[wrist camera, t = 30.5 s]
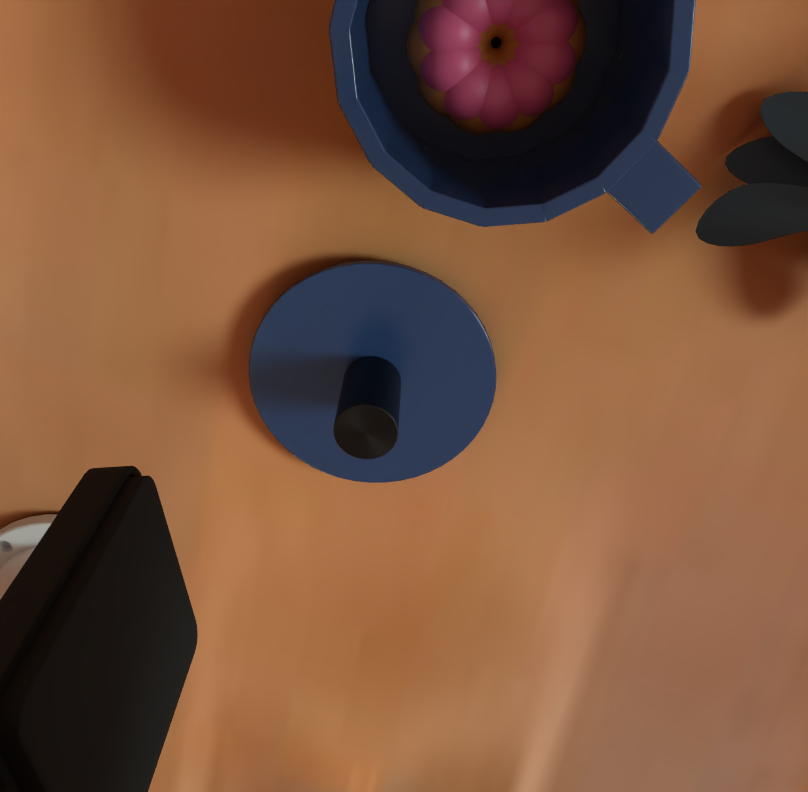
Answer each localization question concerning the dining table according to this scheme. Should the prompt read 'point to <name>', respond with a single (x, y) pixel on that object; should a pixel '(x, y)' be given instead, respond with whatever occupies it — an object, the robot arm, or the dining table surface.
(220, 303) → the dining table surface
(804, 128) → the toy
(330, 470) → the pot lid
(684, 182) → the pot
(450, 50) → the donut
